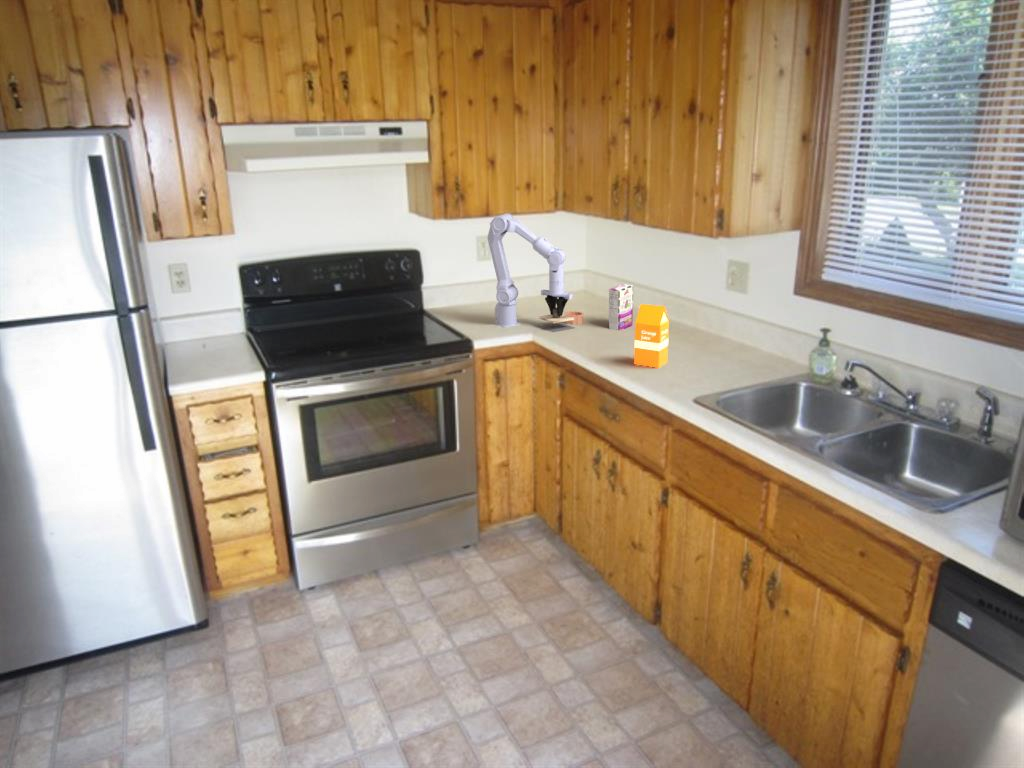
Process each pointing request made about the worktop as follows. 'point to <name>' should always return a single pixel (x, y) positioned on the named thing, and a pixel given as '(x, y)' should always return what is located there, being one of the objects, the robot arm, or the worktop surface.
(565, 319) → the lid
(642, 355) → the orange juice
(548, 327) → the mat
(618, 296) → the candy bar box
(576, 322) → the bowl
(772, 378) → the worktop surface
